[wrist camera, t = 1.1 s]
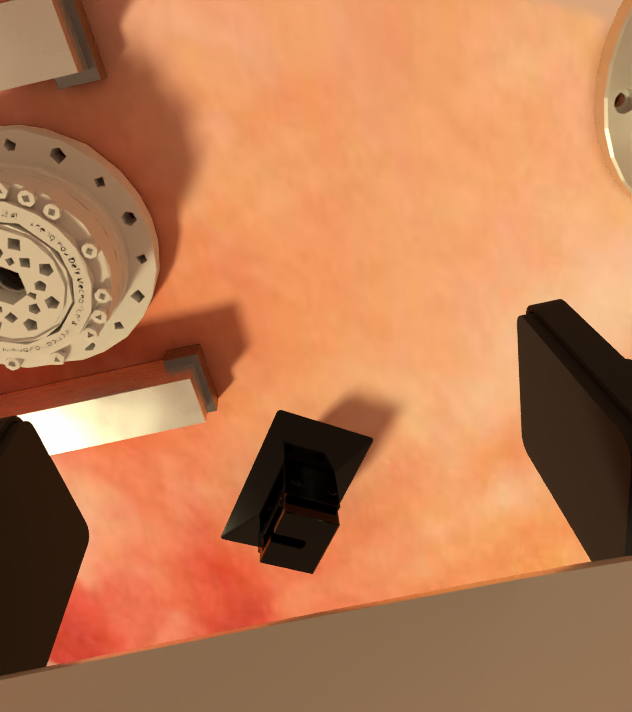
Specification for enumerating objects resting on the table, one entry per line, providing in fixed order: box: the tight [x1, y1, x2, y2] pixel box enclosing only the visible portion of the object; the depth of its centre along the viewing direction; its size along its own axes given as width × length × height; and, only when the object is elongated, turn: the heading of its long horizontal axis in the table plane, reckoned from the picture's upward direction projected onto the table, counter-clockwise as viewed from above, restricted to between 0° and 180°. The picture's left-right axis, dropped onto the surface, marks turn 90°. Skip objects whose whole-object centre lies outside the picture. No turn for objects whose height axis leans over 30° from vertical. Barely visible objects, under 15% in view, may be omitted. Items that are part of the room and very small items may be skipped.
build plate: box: [221, 410, 373, 574], centre depth 32 cm, size 12×7×5 cm, turn 158°
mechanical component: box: [0, 125, 160, 371], centre depth 24 cm, size 10×4×10 cm
